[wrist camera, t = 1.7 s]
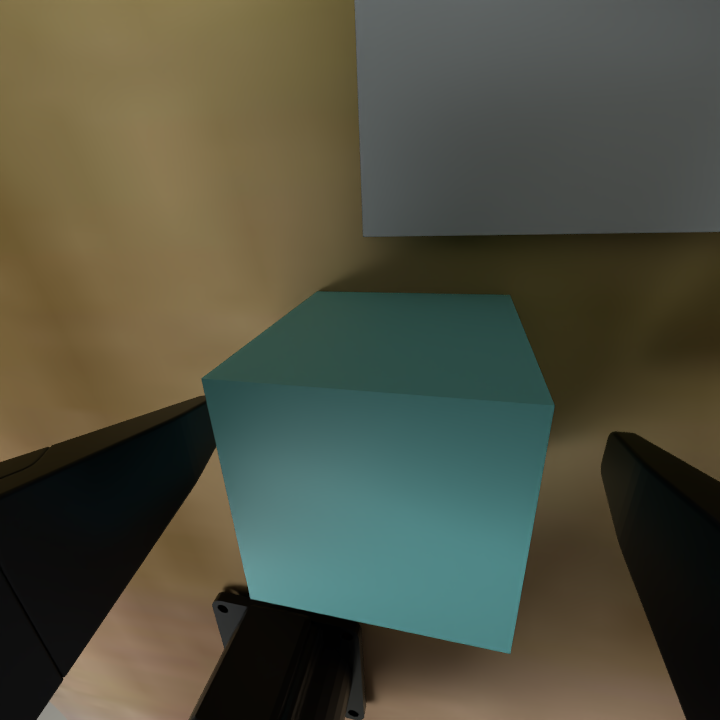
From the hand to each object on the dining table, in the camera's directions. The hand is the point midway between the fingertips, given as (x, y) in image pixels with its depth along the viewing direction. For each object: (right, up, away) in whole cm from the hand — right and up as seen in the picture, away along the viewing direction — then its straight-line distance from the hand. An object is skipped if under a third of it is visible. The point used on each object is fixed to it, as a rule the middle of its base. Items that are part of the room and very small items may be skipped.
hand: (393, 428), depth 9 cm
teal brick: (+1, +1, +2) cm, 3 cm away
